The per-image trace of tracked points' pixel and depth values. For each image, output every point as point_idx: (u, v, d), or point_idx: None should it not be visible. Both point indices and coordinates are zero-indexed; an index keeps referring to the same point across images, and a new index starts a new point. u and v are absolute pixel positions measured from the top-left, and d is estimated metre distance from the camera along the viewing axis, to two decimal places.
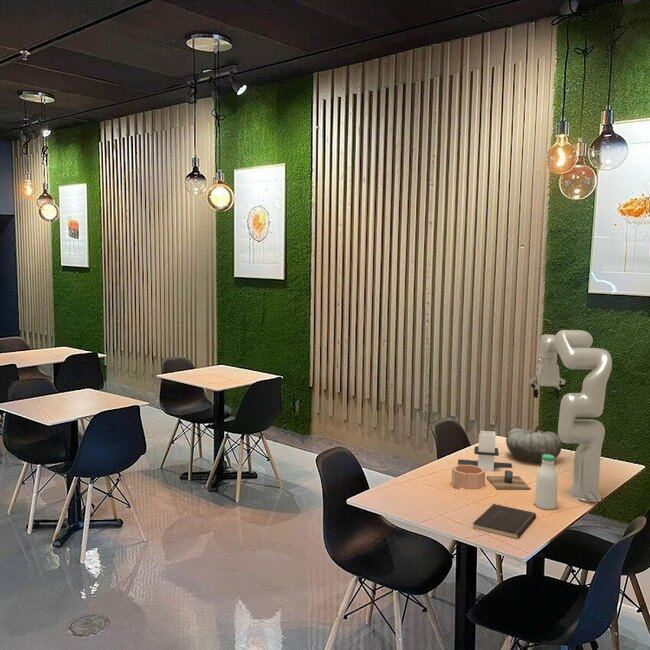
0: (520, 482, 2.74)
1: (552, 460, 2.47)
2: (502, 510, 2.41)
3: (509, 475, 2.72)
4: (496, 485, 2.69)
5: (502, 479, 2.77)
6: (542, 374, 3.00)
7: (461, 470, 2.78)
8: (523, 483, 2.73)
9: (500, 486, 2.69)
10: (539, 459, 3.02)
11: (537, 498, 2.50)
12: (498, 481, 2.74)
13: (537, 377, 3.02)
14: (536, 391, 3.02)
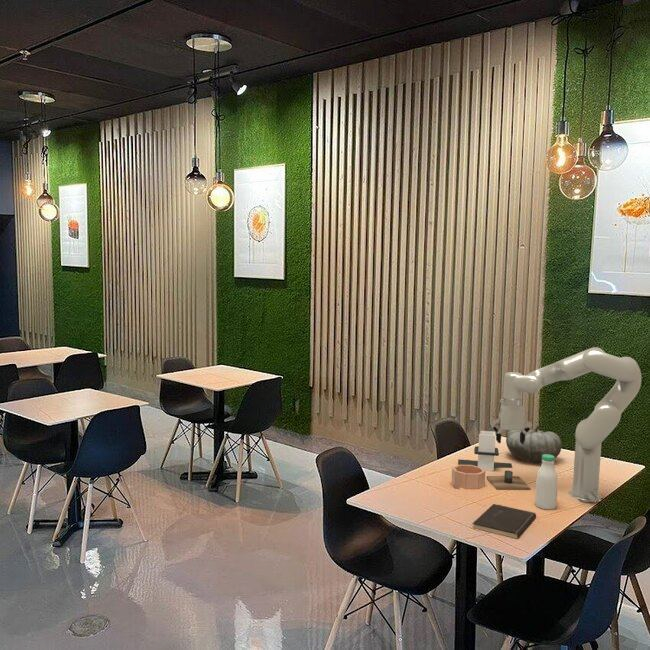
0: (520, 482, 2.74)
1: (552, 460, 2.47)
2: (502, 510, 2.41)
3: (509, 475, 2.72)
4: (496, 485, 2.69)
5: (502, 479, 2.77)
6: (505, 417, 2.69)
7: (461, 470, 2.78)
8: (523, 483, 2.73)
9: (500, 486, 2.69)
10: (539, 459, 3.02)
11: (537, 498, 2.50)
12: (498, 481, 2.74)
13: (500, 420, 2.70)
14: (499, 435, 2.71)
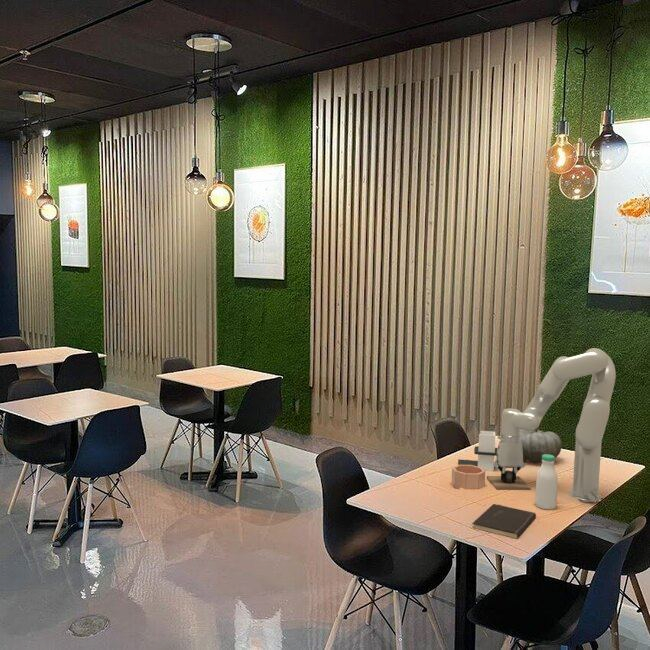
0: (520, 482, 2.74)
1: (552, 460, 2.47)
2: (502, 510, 2.41)
3: (509, 475, 2.72)
4: (496, 485, 2.70)
5: None
6: (503, 454, 2.70)
7: (461, 470, 2.78)
8: (523, 483, 2.73)
9: (500, 486, 2.69)
10: (539, 459, 3.02)
11: (537, 498, 2.50)
12: (498, 481, 2.74)
13: (498, 456, 2.71)
14: (504, 475, 2.72)
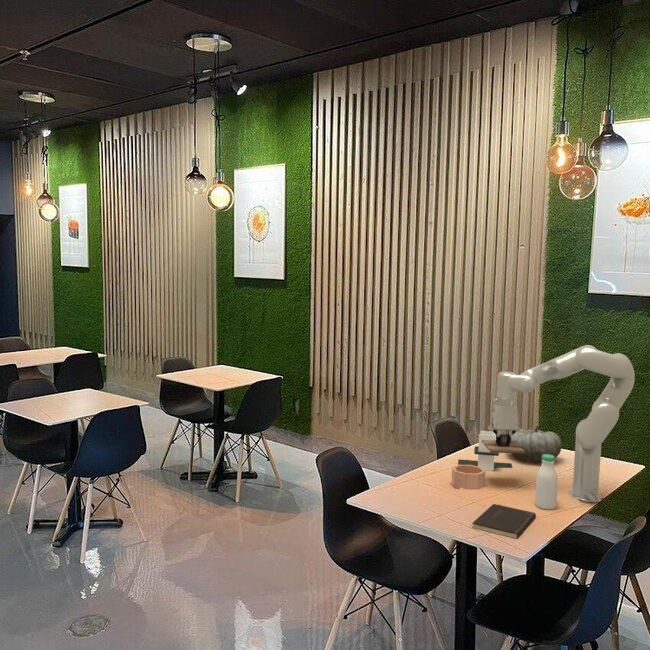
0: (515, 446, 2.72)
1: (552, 460, 2.47)
2: (501, 510, 2.41)
3: (504, 438, 2.70)
4: (491, 448, 2.68)
5: None
6: (498, 416, 2.68)
7: (461, 470, 2.78)
8: (518, 447, 2.71)
9: (495, 449, 2.67)
10: (539, 459, 3.02)
11: (537, 498, 2.50)
12: (493, 444, 2.73)
13: (493, 419, 2.70)
14: (498, 438, 2.71)
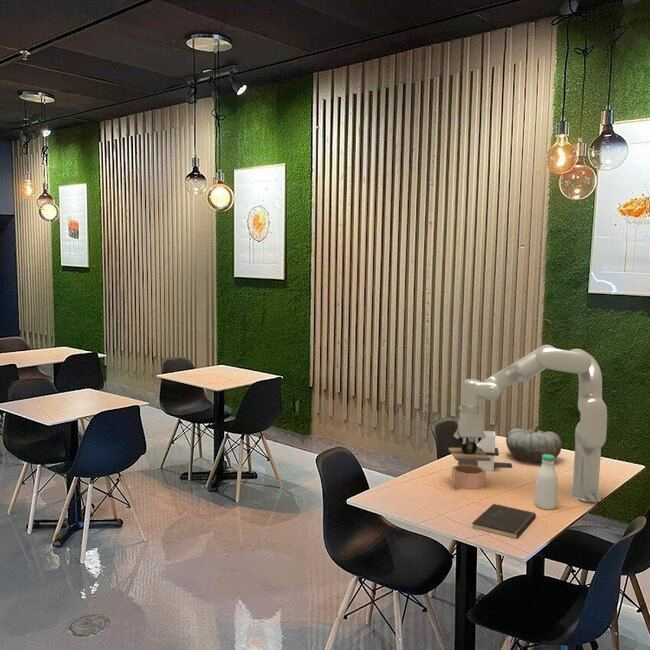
0: (481, 453, 2.72)
1: (552, 460, 2.47)
2: (501, 510, 2.41)
3: (469, 446, 2.70)
4: (456, 455, 2.68)
5: None
6: (464, 424, 2.68)
7: (461, 470, 2.78)
8: (484, 454, 2.71)
9: (460, 456, 2.67)
10: (539, 459, 3.02)
11: (537, 498, 2.50)
12: (459, 452, 2.72)
13: (458, 427, 2.69)
14: (464, 446, 2.70)
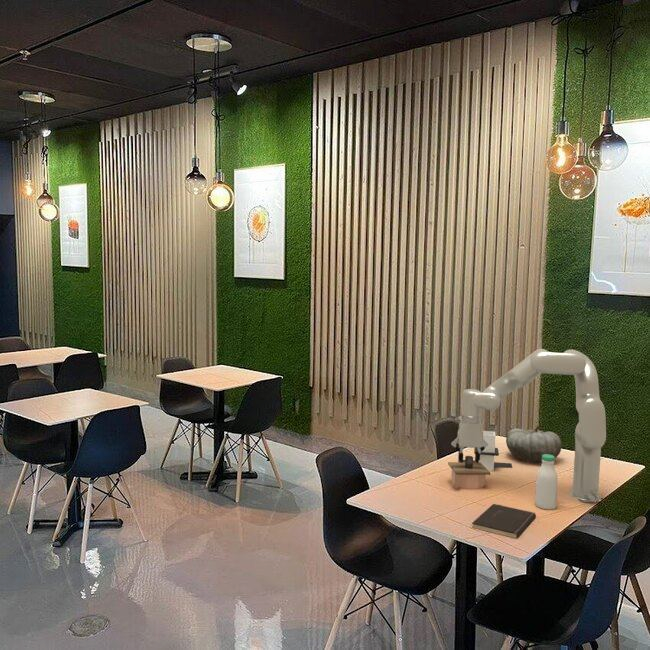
0: (481, 467, 2.72)
1: (552, 460, 2.47)
2: (501, 510, 2.41)
3: (469, 460, 2.70)
4: (456, 470, 2.68)
5: (463, 465, 2.75)
6: (463, 434, 2.68)
7: None
8: (484, 468, 2.71)
9: (460, 471, 2.67)
10: (539, 459, 3.02)
11: (537, 498, 2.50)
12: (459, 466, 2.73)
13: (458, 437, 2.69)
14: (461, 455, 2.70)
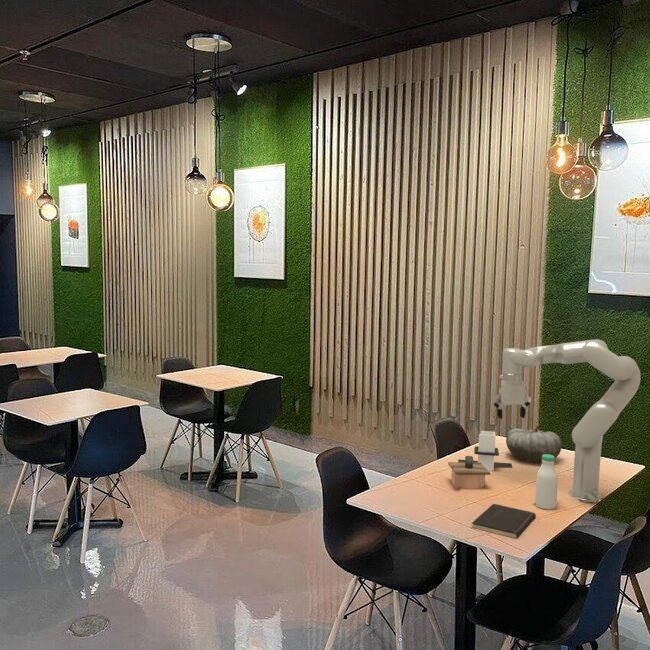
0: (481, 467, 2.72)
1: (552, 460, 2.47)
2: (501, 510, 2.41)
3: (469, 460, 2.70)
4: (456, 470, 2.68)
5: (463, 465, 2.75)
6: (506, 392, 2.72)
7: None
8: (484, 468, 2.71)
9: (460, 471, 2.67)
10: (539, 459, 3.02)
11: (537, 498, 2.50)
12: (459, 466, 2.73)
13: (500, 395, 2.74)
14: (500, 411, 2.74)
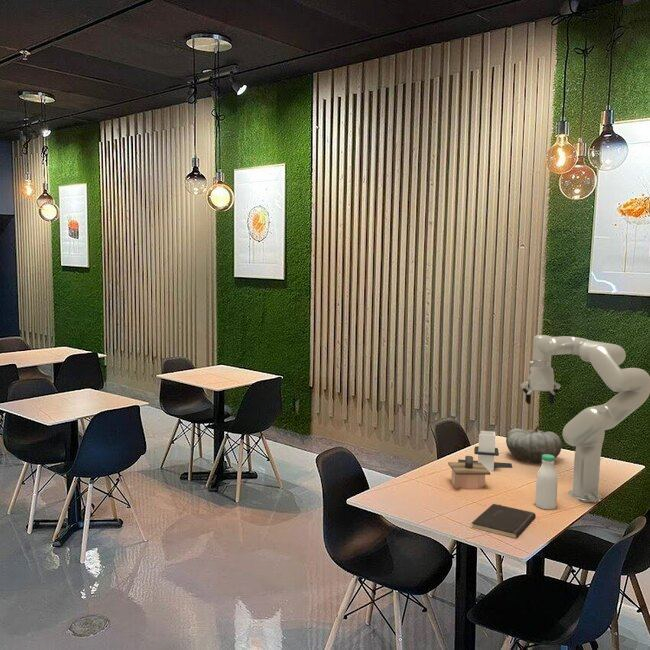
0: (481, 467, 2.72)
1: (552, 460, 2.47)
2: (501, 510, 2.41)
3: (469, 460, 2.70)
4: (456, 470, 2.68)
5: (463, 465, 2.75)
6: (535, 378, 2.76)
7: None
8: (484, 468, 2.71)
9: (460, 471, 2.67)
10: (539, 459, 3.02)
11: (537, 498, 2.50)
12: (459, 466, 2.73)
13: (530, 381, 2.78)
14: (529, 396, 2.79)
